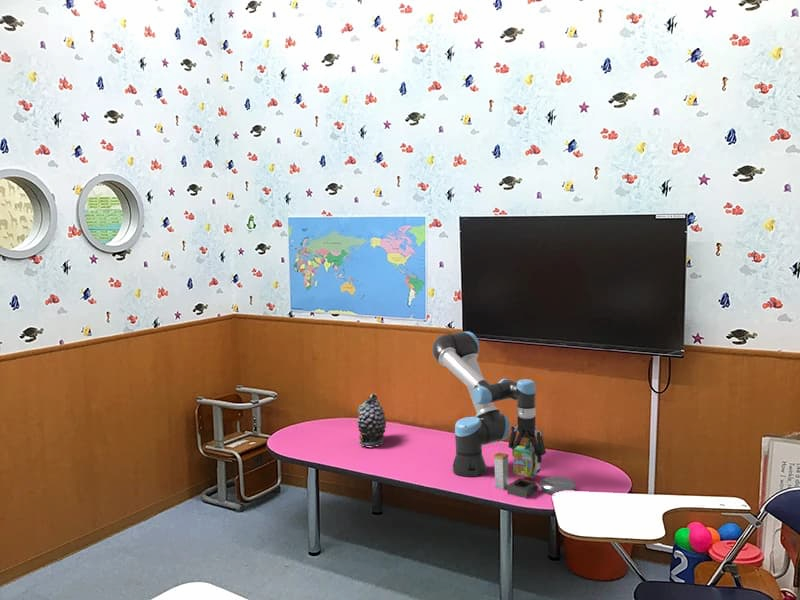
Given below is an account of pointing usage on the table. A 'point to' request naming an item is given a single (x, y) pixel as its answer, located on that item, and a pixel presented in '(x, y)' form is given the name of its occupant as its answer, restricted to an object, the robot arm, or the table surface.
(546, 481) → the rosette disc
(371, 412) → the dark pine cone
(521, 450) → the chalk box
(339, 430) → the table surface
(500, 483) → the white rectangular box
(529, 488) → the socket
